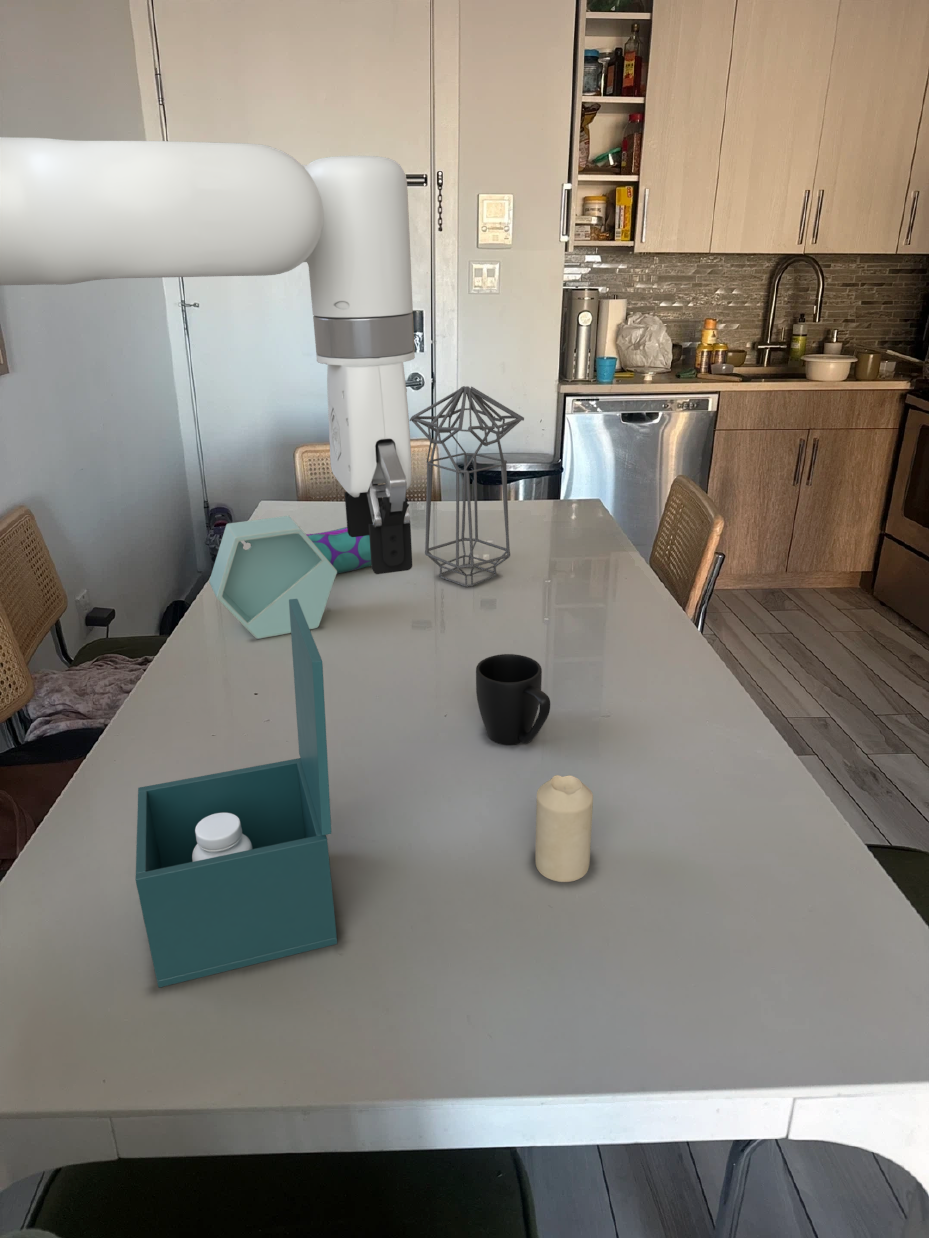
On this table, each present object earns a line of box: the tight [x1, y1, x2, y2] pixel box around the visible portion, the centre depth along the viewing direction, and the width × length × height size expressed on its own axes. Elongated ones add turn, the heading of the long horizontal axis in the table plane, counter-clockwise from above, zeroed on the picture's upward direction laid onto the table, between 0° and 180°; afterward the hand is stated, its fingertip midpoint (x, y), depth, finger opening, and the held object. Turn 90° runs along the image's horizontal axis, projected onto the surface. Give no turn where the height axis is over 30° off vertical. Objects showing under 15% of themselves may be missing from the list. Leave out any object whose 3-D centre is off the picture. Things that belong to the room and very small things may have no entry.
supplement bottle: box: [192, 813, 253, 862], centre depth 81 cm, size 5×5×10 cm
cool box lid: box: [289, 599, 332, 836], centre depth 77 cm, size 16×14×1 cm
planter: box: [208, 515, 337, 640], centre depth 141 cm, size 17×8×21 cm
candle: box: [534, 774, 594, 883], centre depth 87 cm, size 6×6×10 cm
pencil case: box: [305, 526, 371, 575], centre depth 166 cm, size 21×9×10 cm, turn 116°
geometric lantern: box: [409, 385, 525, 588], centre depth 157 cm, size 16×16×35 cm
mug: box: [475, 653, 551, 746], centre depth 109 cm, size 8×12×10 cm
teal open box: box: [134, 757, 338, 988], centre depth 81 cm, size 16×14×12 cm
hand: (378, 551), depth 73 cm, fingers open, 9 cm apart
